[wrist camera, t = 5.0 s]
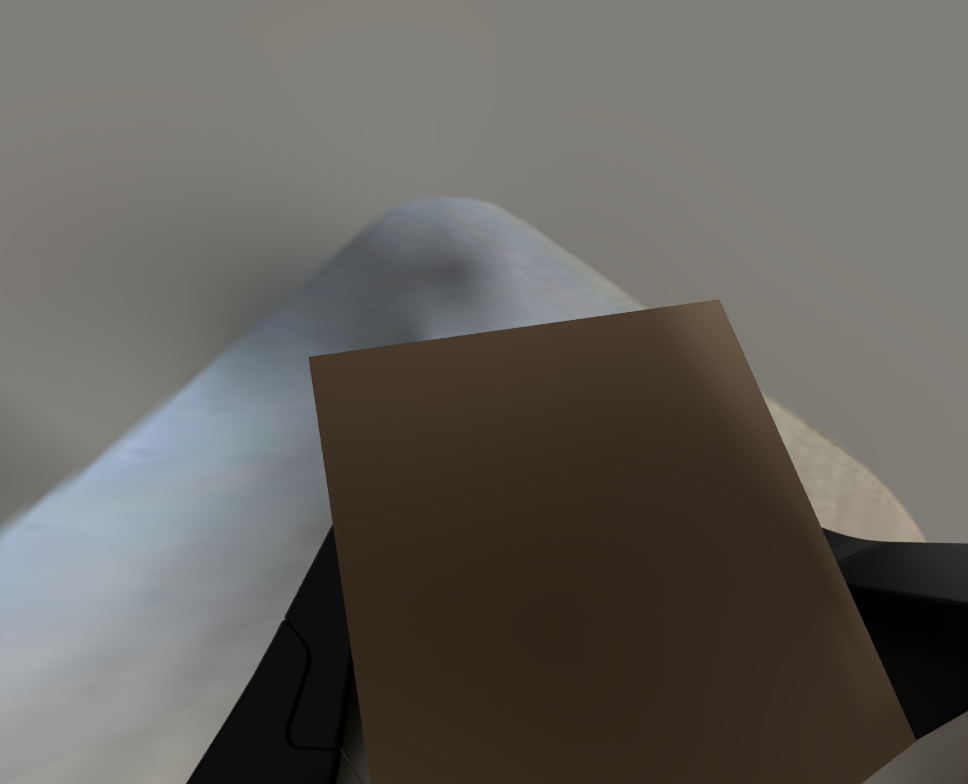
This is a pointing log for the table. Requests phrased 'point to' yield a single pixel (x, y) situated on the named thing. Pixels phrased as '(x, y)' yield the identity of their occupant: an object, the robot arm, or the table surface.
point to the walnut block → (590, 564)
